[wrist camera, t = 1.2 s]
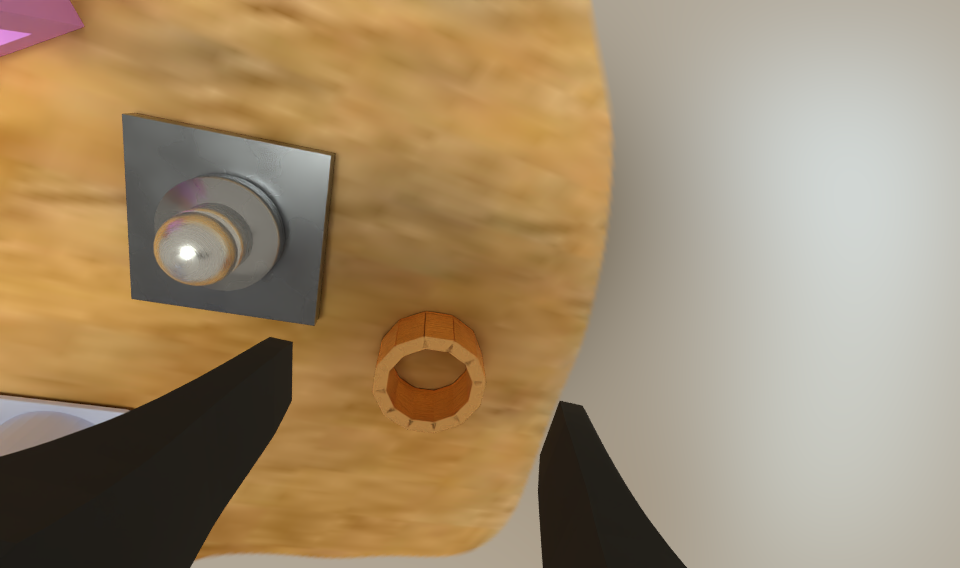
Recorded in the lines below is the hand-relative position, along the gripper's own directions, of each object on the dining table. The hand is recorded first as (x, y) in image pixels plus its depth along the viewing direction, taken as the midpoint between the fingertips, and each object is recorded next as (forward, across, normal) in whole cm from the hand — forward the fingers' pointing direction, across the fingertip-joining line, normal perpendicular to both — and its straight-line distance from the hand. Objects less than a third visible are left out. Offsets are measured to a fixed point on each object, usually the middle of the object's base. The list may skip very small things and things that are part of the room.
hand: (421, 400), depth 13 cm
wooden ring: (+13, +1, +8) cm, 15 cm away
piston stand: (+12, +12, +2) cm, 17 cm away
